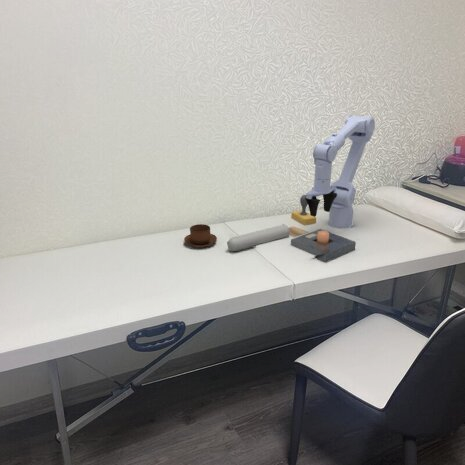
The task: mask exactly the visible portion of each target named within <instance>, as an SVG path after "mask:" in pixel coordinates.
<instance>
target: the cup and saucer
mask: <svg viewBox="0 0 465 465" xmlns="http://www.w3.org/2000/svg"><path fill="white" fill-rule="evenodd" d="M189 233H190V234H188V235H186V236H185V237H184V239H183V241H184V242H185V244H187V245H188V246H190V247H194V248H205V247H210V246H212V245H214V244H215V243H217V240H218V239H217V238H218V237H217V236H216V235H215V234H213V233H211V226H209V225H208V224H202V223H201V224H194V225H191V226H190V227H189Z"/></svg>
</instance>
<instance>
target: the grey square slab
mask: <svg viewBox="0 0 465 465" xmlns="http://www.w3.org/2000/svg"><path fill="white" fill-rule="evenodd" d="M318 231H327V230H325V229H322V228H319V229H316V230H314V231H311V232H308V233H305V234H302V235H299V236H297V237H293V238H292V239H290V246H293V247H295V248H297V249H299V250H302V251H304V252H306V253H309V254H311V255H314V256H313V258H315V259H316V258H317V259H316V260H318V261H320V262H321V261H322V262H324V263H328V262H331V261H332V260H334V259H337V258H339V257H341V256H343V255H346V254H348V253H350V252H353V251H355V250H356V244H357V242H356V241H355V240H352V239H349V238H347V237H344V236H340V235H338V234H335V233H334V232H330V231H327V232H329V241H328V244H326V245H322V244H320V243H317V233H318Z"/></svg>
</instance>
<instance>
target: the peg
mask: <svg viewBox="0 0 465 465" xmlns="http://www.w3.org/2000/svg"><path fill="white" fill-rule="evenodd" d="M329 232H330V231H328V232H327V230H325V231H318V233H317V243H320V244H322V245H326V244H328V241H329Z"/></svg>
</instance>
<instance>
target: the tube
mask: <svg viewBox="0 0 465 465" xmlns="http://www.w3.org/2000/svg"><path fill="white" fill-rule="evenodd" d="M289 228H290V227H288V225H287V224H284V223H282V224H281V225H277V226H272V227H269V228H264V229H261V230H256V231H253V232H249V233H244V234H241V235H236V236H233V237H230V238H229V239H228V240H227V242H226V244H227V248H228V250H229V251H230V252H233V251H236V252H240V251H243V250H242V249H244V250H247V249H251V248H254V247H257V246H258V245H262V244H264V243H269V242H272V241H277V240H281V239H284V238H289V236H290V230H289ZM239 250H240V251H239Z"/></svg>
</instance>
